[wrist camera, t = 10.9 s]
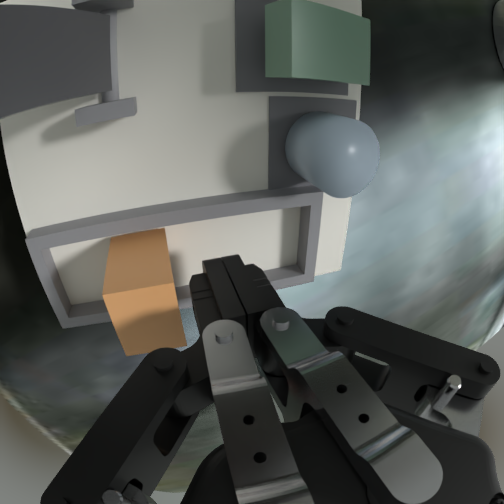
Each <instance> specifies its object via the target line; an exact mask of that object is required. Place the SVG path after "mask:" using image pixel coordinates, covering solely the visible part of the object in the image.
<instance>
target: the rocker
mask: <svg viewBox="0 0 504 504" xmlns="http://www.w3.org/2000/svg"><path fill="white" fill-rule="evenodd" d="M265 77H273V78H296V79H310V80H322V81H332V82H341V83H351V84H360V85H368V86H369V85H370V20H369V19H366V18H364V17H361V16H358V15H355V14H352V13H349V12H346V11H343V10H340V9H337V8H333V7H330V6H327V5H323V4H319V3H316V2H312V1H308V0H279V1H276V2H273V3H270V4H267V5H265Z"/></svg>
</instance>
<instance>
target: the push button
mask: <svg viewBox="0 0 504 504" xmlns="http://www.w3.org/2000/svg"><path fill="white" fill-rule="evenodd" d="M285 153H286V158H287V161H288V163H289V165H290V167H291V168H292V169H293V171H294V172H296V173H297V174H298V175H299V176H301V177H302V178H304V179H305V180H307V181H308V182H310V183H311V184H313V185H314V186H316V187H317V188H319V189H320V190H322V191H323V192H325V193H326V194H327V195H329V196H332V197H335V198H348V197H352V196H354V195H356V194H358V193H360V192H361V191H362V190H364V189H365V188H366V187H367V186H368V185H369V183H370V182H371V181H372V179H373V178H374V176H375V174H376V171H377V169H378V165H379V160H380V148H379V143H378V140H377V137H376V135H375V133H374V132H373V130H372V129H371V128H370V127H369V126H368V125H366V124H365V123H363V122H361V121H359V120H355V119H352V118H348V117H344V116H340V115H336V114H332V113H328V112H323V111H314V112H310V113H307V114H305V115H303V116H302V117H300V118H299V119H298V120H297V121H296V122H295V123H294V124H293V125H292V127H291V128H290V130H289V132H288V135H287V138H286V143H285Z"/></svg>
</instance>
